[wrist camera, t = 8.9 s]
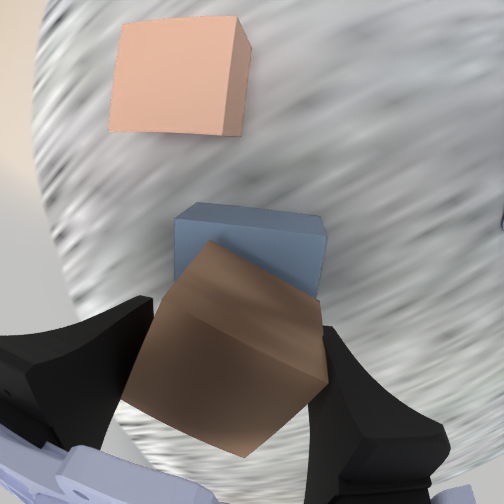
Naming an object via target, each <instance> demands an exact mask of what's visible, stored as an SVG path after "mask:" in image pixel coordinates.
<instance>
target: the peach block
mask: <svg viewBox="0 0 504 504" xmlns="http://www.w3.org/2000/svg"><path fill="white" fill-rule="evenodd" d="M251 50H252V47H251V45H250V43H249V41H248V39H247V36H246V34H245V32H244V30H243V28H242V26H241V23H240V21H239V19H238V17H237V16H200V17H181V18H168V19H158V20H149V21H141V22H134V23H127V24H123V26H122V31H121V36H120V42H119V47H118V53H117V60H116V66H115V73H114V81H113V89H112V98H111V108H110V120H109V132H172V133H193V134H208V135H222V136H239V137H241V134H242V125H243V116H244V108H245V99H246V91H247V82H248V74H249V66H250V58H251Z"/></svg>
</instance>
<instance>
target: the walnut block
mask: <svg viewBox="0 0 504 504" xmlns="http://www.w3.org/2000/svg"><path fill="white" fill-rule="evenodd" d="M323 335H324V333H323V325H322V316H321V308H320V301H319V300H317V299H315V298H314V297H312V296H310V295H308V294H306V293H305V292H303V291H301V290H299V289H297V288H296V287H294V286H292V285H290V284H288V283H287V282H285V281H283V280H281V279H279V278H278V277H276V276H274V275H272V274H271V273H269V272H267V271H265V270H263V269H262V268H260V267H258V266H256V265H254V264H253V263H251V262H249V261H247V260H246V259H244V258H242V257H240V256H238V255H237V254H235V253H233V252H231V251H230V250H228V249H226V248H224V247H222V246H221V245H219V244H217V243H215V242H214V241H212V240H209V241H208V242H207V243H206V245H205V246H204V247H203V248H202V250H201V251H200V252H199V253H198V255H197V256H196V257H195V258H194V259H193V261H192V262H191V263H190V264H189V266H188V267H187V268H186V269H185V271H184V272H183V273H182V275H181V276H180V277H179V278H178V280H177V281H176V282H175V283H174V285H173V286H172V287H171V288H170V290H169V291H168V292H167V294H166V295H165V296H164V297H163V299H162V301H161V303H160V306H159V308H158V310H157V312H156V315H155V317H154V319H153V321H152V324H151V326H150V328H149V331H148V333H147V335H146V338H145V340H144V342H143V345H142V347H141V349H140V352H139V354H138V356H137V359H136V361H135V364H134V366H133V369H132V371H131V374H130V376H129V379H128V381H127V384H126V386H125V389H124V391H123V394H122V396H121V400H123V401H125V402H126V403H128V404H130V405H131V406H133V407H135V408H137V409H139V410H140V411H142V412H144V413H146V414H148V415H149V416H151V417H153V418H155V419H157V420H159V421H161V422H163V423H165V424H167V425H169V426H171V427H173V428H175V429H177V430H179V431H181V432H183V433H185V434H187V435H190V436H192V437H194V438H196V439H198V440H201V441H203V442H205V443H208V444H210V445H212V446H215V447H217V448H219V449H222V450H224V451H227V452H229V453H232V454H235V455H237V456H240V457H243V458H245V457H247V456H248V455H249V454H250V453H252V452H253V451H254V450H255V449H257V448H258V447H259V446H260V445H262V444H263V443H264V442H265V441H266V440H268V439H269V438H270V437H271V436H272V435H273V434H275V433H276V432H277V431H278V430H279V429H280V428H282V427H283V426H284V425H285V424H286V423H287V422H288V421H289V420H291V419H292V418H293V417H294V416H295V415H296V414H297V413H298V412H299V411H300V410H302V409H303V408H304V407H305V406H306V405H307V404H308V403H309V402H310V401H311V400H312V399H313V398H314V397H315V396H316V395H317V394H318V393H319V392H320V391H321V390H322V389H323V388H324V387H325V386H326V385H327V384H328V383H329V382H328V371H327V361H326V351H325V347H324V342H323V338H322V336H323Z"/></svg>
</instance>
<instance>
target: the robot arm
mask: <svg viewBox="0 0 504 504" xmlns="http://www.w3.org/2000/svg"><path fill="white" fill-rule="evenodd" d="M503 230H504V221H503ZM153 319H154V311H153V298H151V297H146V296H141V295H139V296H137V297H134V298H132V299H130V300H128V301H126V302H123V303H121V304H119V305H117V306H115V307H113V308H111V309H109V310H107V311H105V312H103V313H100V314H98V315H96V316H93V317H91V318H89V319H86V320H84V321H81V322H79V323H76V324H73V325H70V326H67V327H63V328H59V329H55V330H51V331H46V332H41V333H35V334H26V335H11V336H10V335H9V336H0V485H1V486H3V487H4V488H5V489H7V490H8V491H9V492H10V493H12V494H13V495H14V496H16V497H17V498H18V499H20V500H21V501H22V502H24V503H25V504H228V503H223V502H218V500H217V499H216V497H215V496H214V494H213V493H212V492H211V491H210V490H208V489H206V488H205V487H203V486H201V485H200V484H198V483H196V482H193V481H190V480H187V479H184V478H181V477H178V476H175V475H171V474H167V473H164V472H160V471H157V470H153V469H150V468H147V467H144V466H141V465H138V464H134V463H132V462H129V461H126V460H123V459H120V458H118V457H115V456H112V455H110V454H107V453H105V452H102V451H100V449H101V446H102V443H103V440H104V437H105V435H106V432H107V429H108V427H109V424H110V422H111V419H112V417H113V415H114V412H115V410H116V408H117V406H118V403H119V401H120V399H121V396H122V394H123V391H124V389H125V386H126V384H127V381H128V379H129V376H130V374H131V371H132V369H133V366H134V364H135V361H136V359H137V356H138V354H139V352H140V349H141V347H142V345H143V342H144V340H145V338H146V335H147V333H148V331H149V328H150V326H151V324H152V321H153ZM323 333H324V335H323V336H322V338H323V342H324V347H325V351H326V361H327V371H328V382H329V383H328V384H327V385H326V386H325V387H324V388H323V389H322V390H321V391H320V392H319V393H318V394H317V395H316V396H315V397H314V398H313V399H312V400H311V401H310V402H309V403H308V411H309V424H310V446H309V461H308V473H307V483H306V491H305V499H304V504H476V502H475V498H474V495H473V491H472V488H471V485H469V484H468V485H464V486H460V487H456V488H451V489H447V490H444V491H442V492H440V493H438V494H436V495H435V496H434V497H433V498H432V499H431V500H430V496H429V492H428V488H429V487H430V486H431V484H432V483H431V479H430V476H431V475H432V474H433V473H434V472H435V471H436V469H437V468H438V467H439V466H440V465H441V464H442V463H443V462H444V461H445V459H446V458H447V457H448V455H449V453H450V450H451V447H450V443H449V440H448V437H447V435H446V432H445V429H444V427H443V425H442V424H440V423H438V422H436V421H434V420H432V419H430V418H428V417H426V416H424V415H422V414H420V413H418V412H417V411H415V410H413V409H412V408H410V407H408V406H407V405H405V404H404V403H402V402H401V401H399V400H398V399H397V398H396V397H394V396H393V395H392V394H390V393H389V392H388V391H387V390H385V389H384V388H383V387H382V386H381V385H380V384H379V383H378V382H377V381H376V380H374V379H373V378H372V377H371V376H370V375H369V373H368V372H367V371H366V370H365V369H364V368H363V367H362V366H361V364H360V363H359V362H358V361H357V360H356V358H355V357H354V356H353V355H352V353H351V352H350V351H349V349H348V348H347V346H346V345H345V344H344V342H343V341H342V339H341V338H340V336H339V335H338V334H337V332H336V331H335V329H334V328H333V327H332V326H323Z"/></svg>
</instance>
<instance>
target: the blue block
mask: <svg viewBox="0 0 504 504" xmlns="http://www.w3.org/2000/svg"><path fill="white" fill-rule="evenodd" d="M209 240H212V241H214V242H215V243H217V244H219V245H221V246H222V247H224V248H226V249H228V250H230V251H231V252H233V253H235V254H237V255H238V256H240V257H242V258H244V259H246V260H247V261H249V262H251V263H253V264H254V265H256V266H258V267H260V268H262V269H263V270H265V271H267V272H269V273H271V274H272V275H274V276H276V277H278V278H279V279H281V280H283V281H285V282H287V283H288V284H290V285H292V286H294V287H296V288H297V289H299V290H301V291H303V292H305V293H306V294H308V295H310V296H312V297H314V298H315V299H316V295H317V290H318V285H319V280H320V274H321V269H322V264H323V258H324V253H325V247H326V241H327V234H326V232H325V229H324V226H323V223H322V221H321V218H320V216H313V215H306V214H298V213H290V212H282V211H274V210H265V209H257V208H248V207H239V206H229V205H220V204H210V203H199V202H197V203H195V204H194V205H193V206H191V207H190V208H188V209H187V210H186V211H184V212H183V213H181V214H180V215H179V216H177V217H176V218H175V223H174V277H175V282H176V281H177V280H178V278H179V277H180V276H181V275H182V273H183V272H184V271H185V269H186V268H187V267H188V266H189V264H190V263H191V262H192V261H193V259H194V258H195V257H196V256H197V255H198V253H199V252H200V251H201V250H202V248H203V247H204V246H205V245H206V243H207V242H208V241H209Z"/></svg>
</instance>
